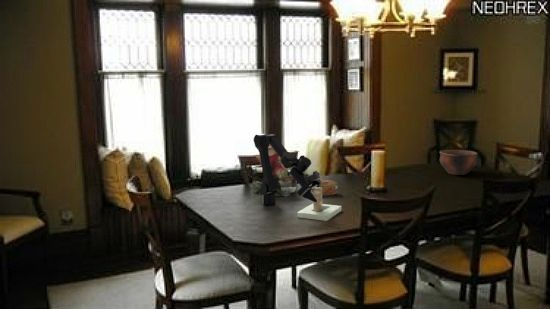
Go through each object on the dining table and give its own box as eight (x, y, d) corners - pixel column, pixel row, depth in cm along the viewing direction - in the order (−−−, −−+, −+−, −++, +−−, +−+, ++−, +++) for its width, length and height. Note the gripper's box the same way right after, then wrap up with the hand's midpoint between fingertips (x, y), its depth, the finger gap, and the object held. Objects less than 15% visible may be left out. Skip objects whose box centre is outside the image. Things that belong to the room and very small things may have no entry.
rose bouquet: (293, 197, 307) (292, 146, 302) (246, 195, 317) (244, 145, 312) (305, 187, 331) (304, 140, 326) (261, 185, 341) (259, 139, 336)
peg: (315, 216, 267) (315, 189, 265) (312, 214, 272) (312, 187, 269) (323, 215, 268) (323, 188, 266) (320, 213, 273) (320, 186, 270)
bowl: (480, 171, 366) (481, 150, 363) (472, 178, 345) (473, 155, 343) (443, 168, 379) (444, 148, 376) (434, 175, 358) (434, 153, 356)
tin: (314, 196, 310) (314, 182, 308) (313, 195, 313) (312, 181, 311) (339, 194, 312) (339, 180, 311) (337, 193, 315) (337, 179, 314)
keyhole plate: (326, 220, 260) (326, 215, 259) (297, 217, 267) (297, 212, 267) (341, 210, 277) (341, 206, 276) (313, 207, 284) (313, 203, 284)
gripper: (302, 170, 260) (323, 193, 256) (317, 163, 276) (337, 186, 273) (288, 184, 265) (308, 208, 261) (304, 177, 281) (323, 199, 278)
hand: (320, 199), depth 268 cm, fingers open, 9 cm apart
